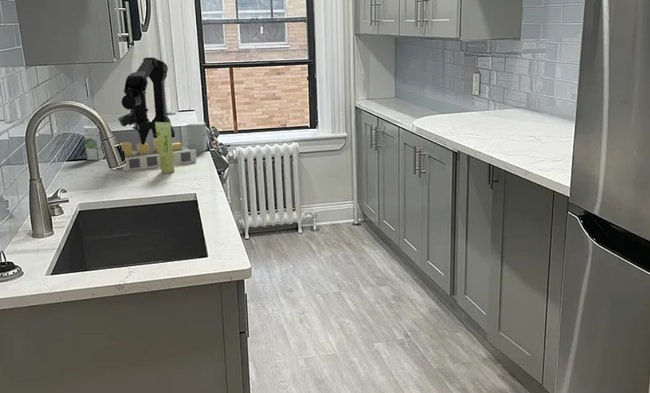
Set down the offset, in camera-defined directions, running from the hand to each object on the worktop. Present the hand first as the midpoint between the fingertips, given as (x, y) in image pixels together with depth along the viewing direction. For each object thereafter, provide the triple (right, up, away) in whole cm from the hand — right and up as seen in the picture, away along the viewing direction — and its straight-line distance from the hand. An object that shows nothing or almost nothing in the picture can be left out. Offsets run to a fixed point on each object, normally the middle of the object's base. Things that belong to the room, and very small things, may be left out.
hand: (142, 144), depth 254 cm
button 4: (-6, -6, -2) cm, 9 cm away
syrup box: (-24, -6, +11) cm, 27 cm away
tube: (+14, -12, -16) cm, 25 cm away
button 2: (+6, -4, +5) cm, 9 cm away
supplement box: (+18, -1, +25) cm, 31 cm away
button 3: (0, -6, +2) cm, 6 cm away
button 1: (+12, -5, +9) cm, 16 cm away
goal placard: (+9, -9, -5) cm, 14 cm away
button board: (+3, -7, +4) cm, 9 cm away
